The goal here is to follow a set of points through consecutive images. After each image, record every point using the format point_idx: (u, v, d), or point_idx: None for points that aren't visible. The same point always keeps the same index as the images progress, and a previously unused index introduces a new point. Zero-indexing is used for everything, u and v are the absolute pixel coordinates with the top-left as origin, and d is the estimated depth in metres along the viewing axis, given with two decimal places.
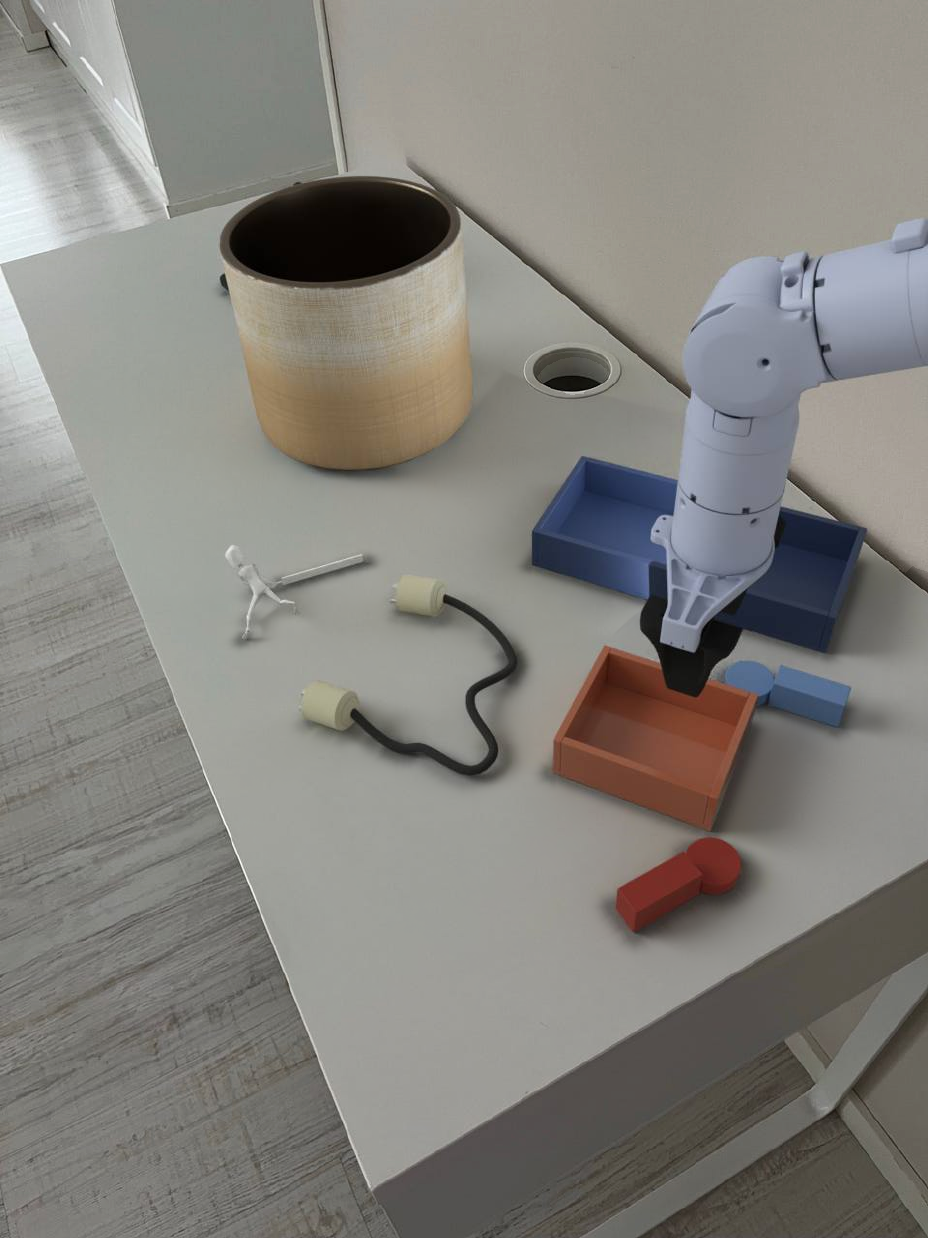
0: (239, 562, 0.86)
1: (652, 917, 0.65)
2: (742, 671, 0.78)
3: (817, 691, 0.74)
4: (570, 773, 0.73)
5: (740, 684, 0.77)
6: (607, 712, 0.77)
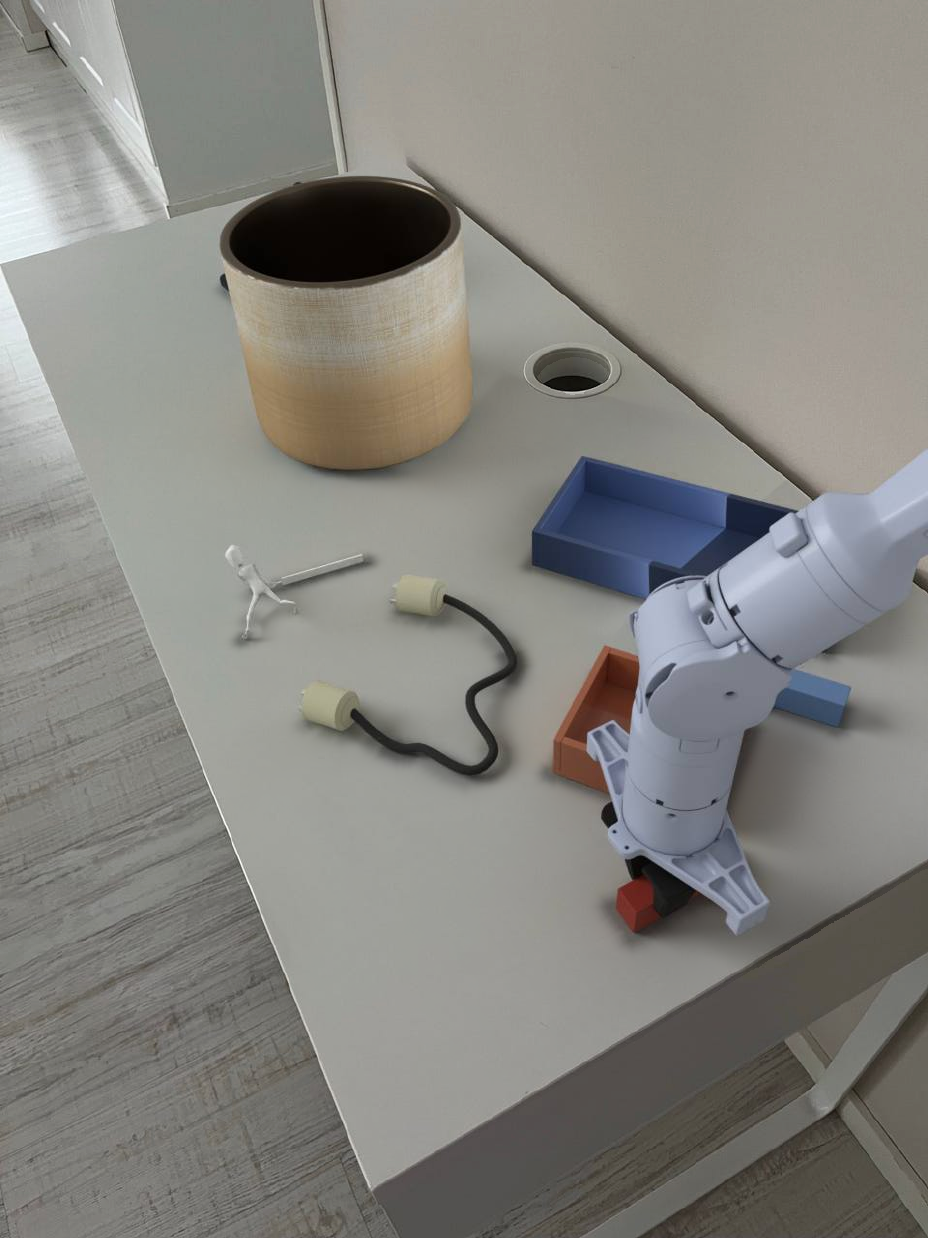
0: (239, 562, 0.86)
1: (653, 918, 0.65)
2: None
3: (817, 691, 0.74)
4: (570, 773, 0.73)
5: None
6: (607, 712, 0.77)
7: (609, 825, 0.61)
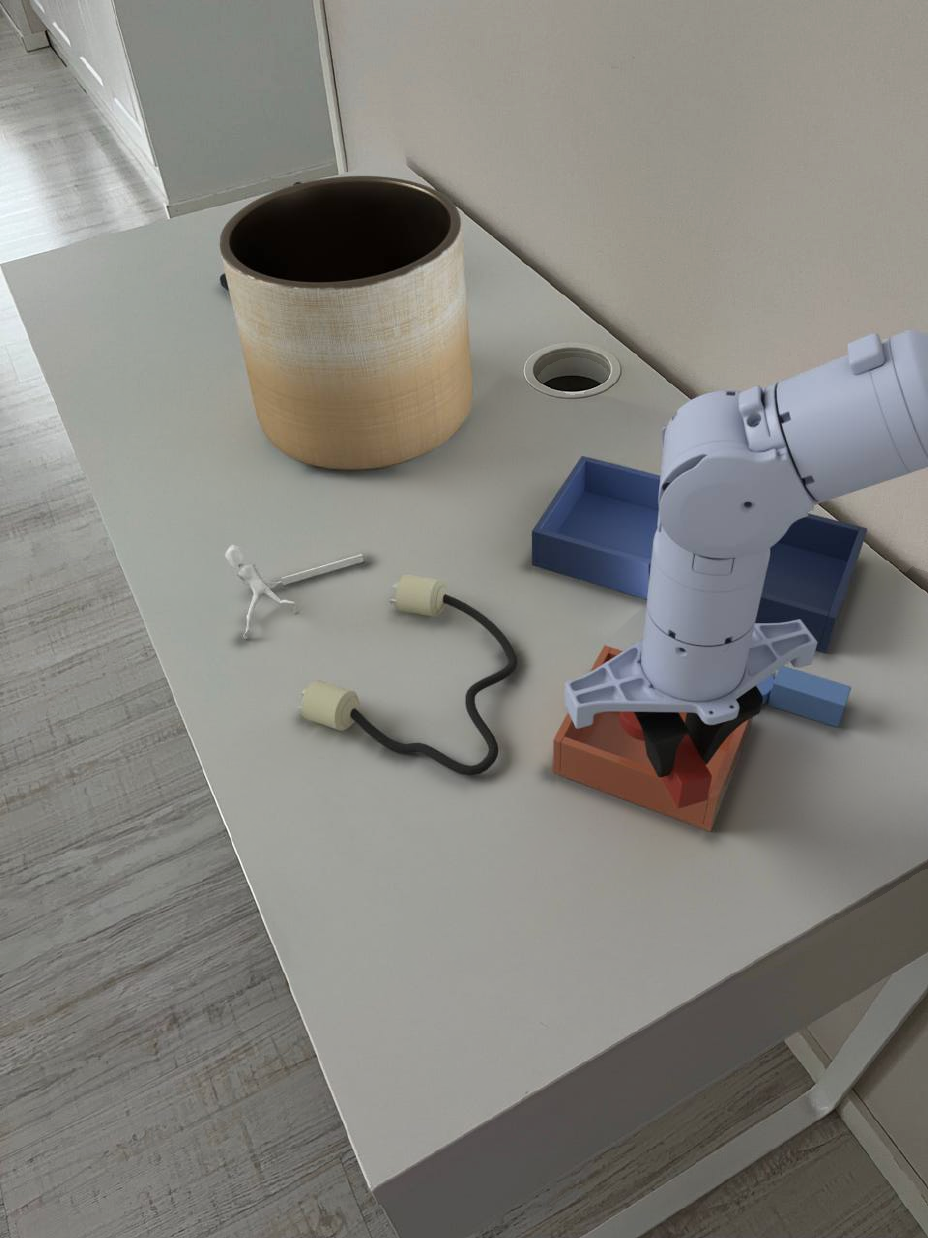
0: (239, 562, 0.86)
1: None
2: None
3: (817, 691, 0.74)
4: (570, 773, 0.73)
5: None
6: (607, 712, 0.77)
7: (671, 733, 0.57)
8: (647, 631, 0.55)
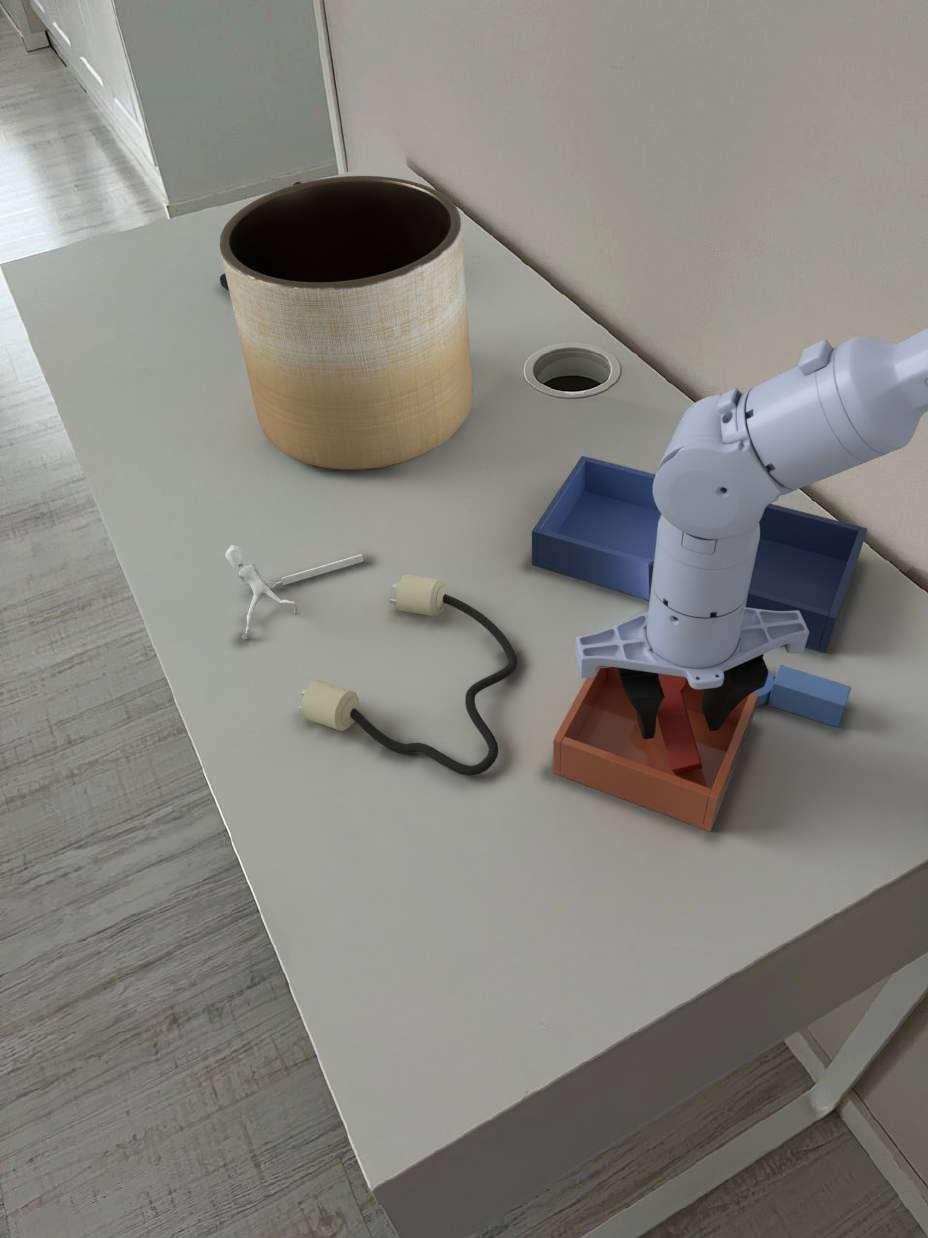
0: (239, 562, 0.86)
1: (696, 746, 0.72)
2: None
3: (817, 691, 0.74)
4: (570, 773, 0.73)
5: None
6: (607, 712, 0.77)
7: (647, 696, 0.64)
8: (650, 600, 0.63)
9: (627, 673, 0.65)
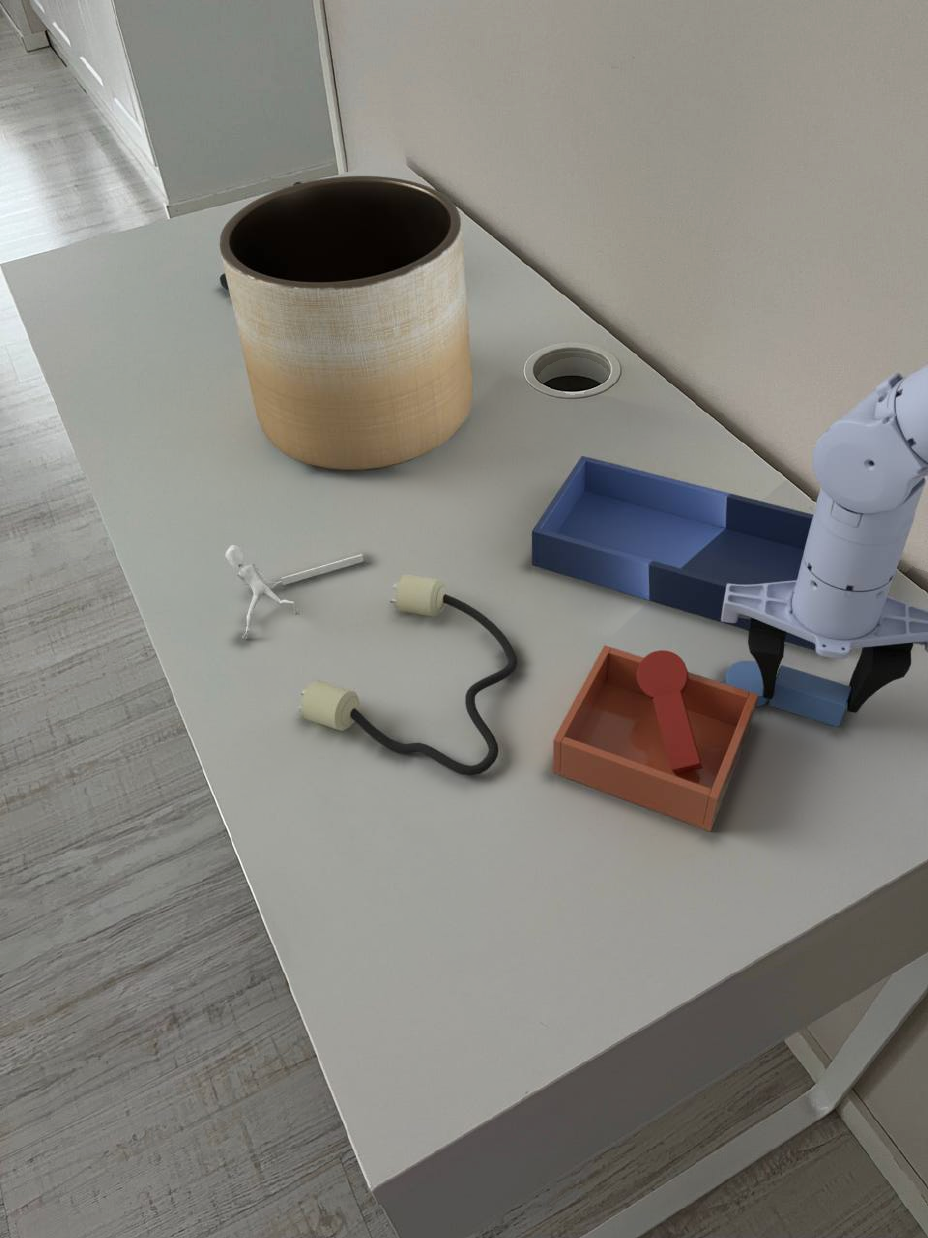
0: (239, 562, 0.86)
1: (696, 746, 0.72)
2: (742, 671, 0.78)
3: (818, 691, 0.74)
4: (570, 773, 0.73)
5: (741, 685, 0.77)
6: (607, 712, 0.77)
7: (767, 651, 0.70)
8: None
9: (756, 627, 0.71)
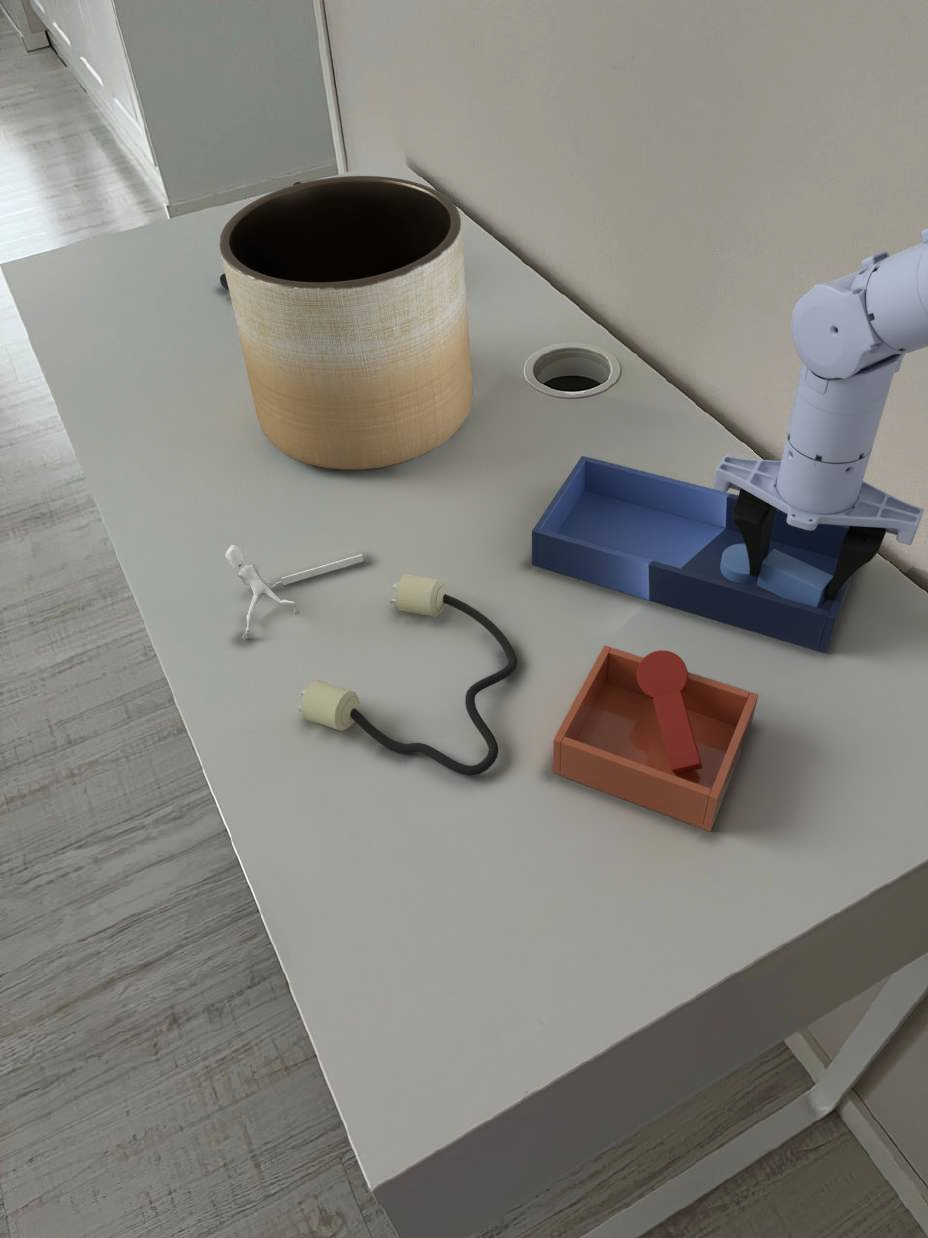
0: (239, 562, 0.86)
1: (696, 746, 0.72)
2: (739, 552, 0.83)
3: (800, 575, 0.79)
4: (570, 773, 0.73)
5: (733, 562, 0.82)
6: (607, 712, 0.77)
7: (747, 519, 0.75)
8: None
9: (744, 498, 0.77)
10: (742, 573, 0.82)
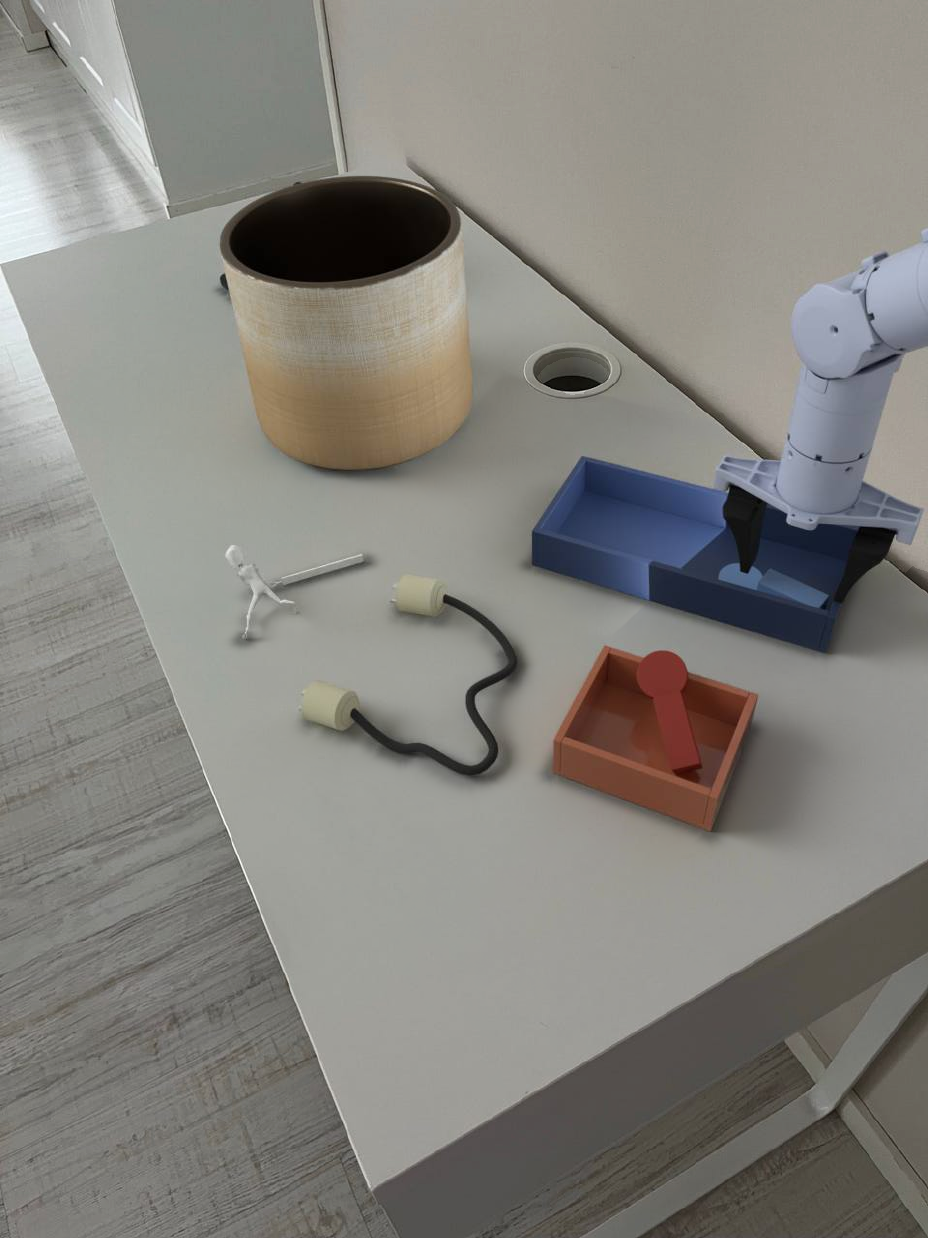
0: (239, 562, 0.86)
1: (696, 746, 0.72)
2: (736, 571, 0.85)
3: (796, 594, 0.81)
4: (570, 773, 0.73)
5: (730, 581, 0.84)
6: (607, 712, 0.77)
7: (737, 516, 0.76)
8: None
9: (733, 495, 0.77)
10: None
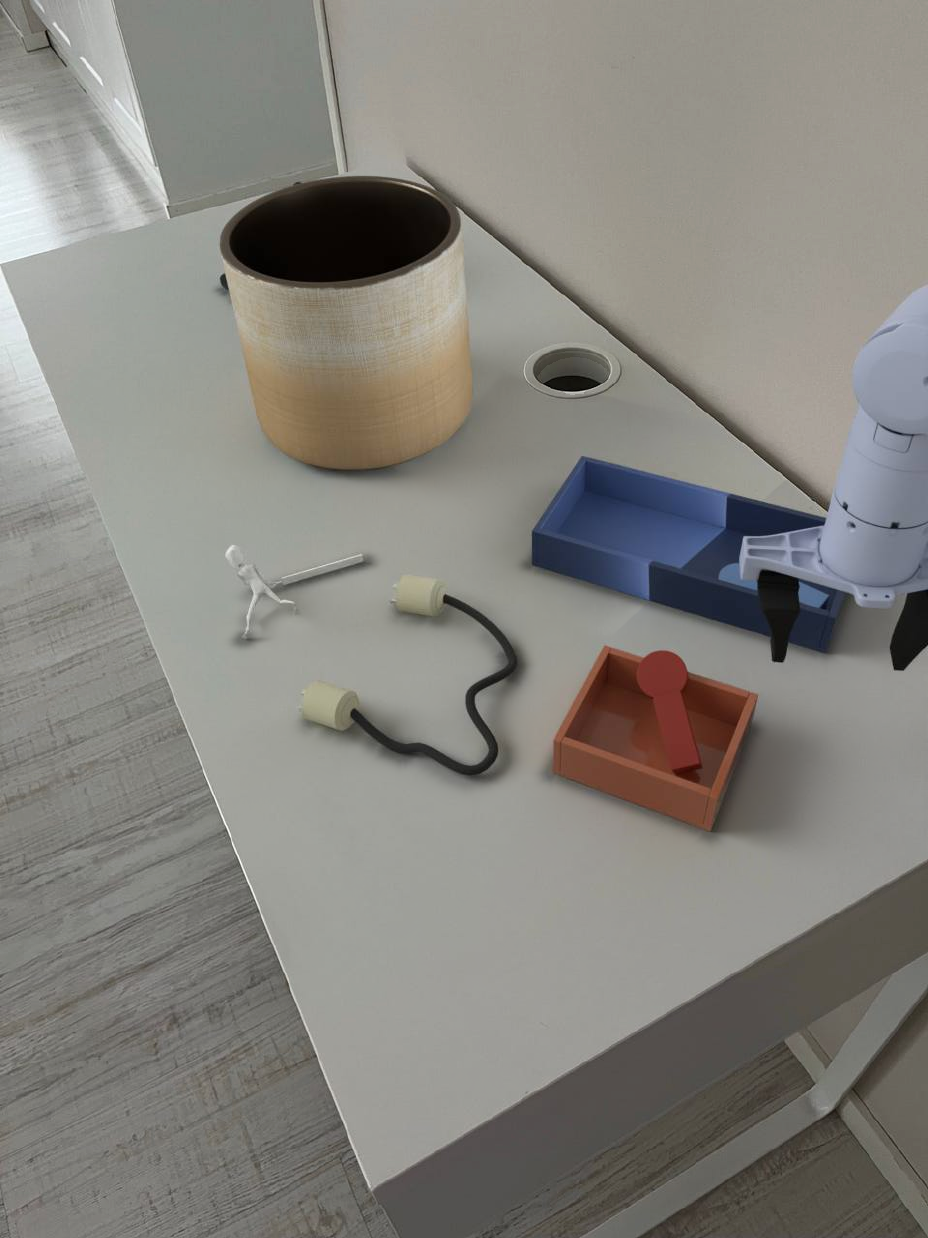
0: (239, 562, 0.86)
1: (696, 746, 0.72)
2: (736, 571, 0.85)
3: None
4: (570, 773, 0.73)
5: (730, 581, 0.84)
6: (607, 712, 0.77)
7: (782, 607, 0.62)
8: None
9: (765, 582, 0.63)
10: None
